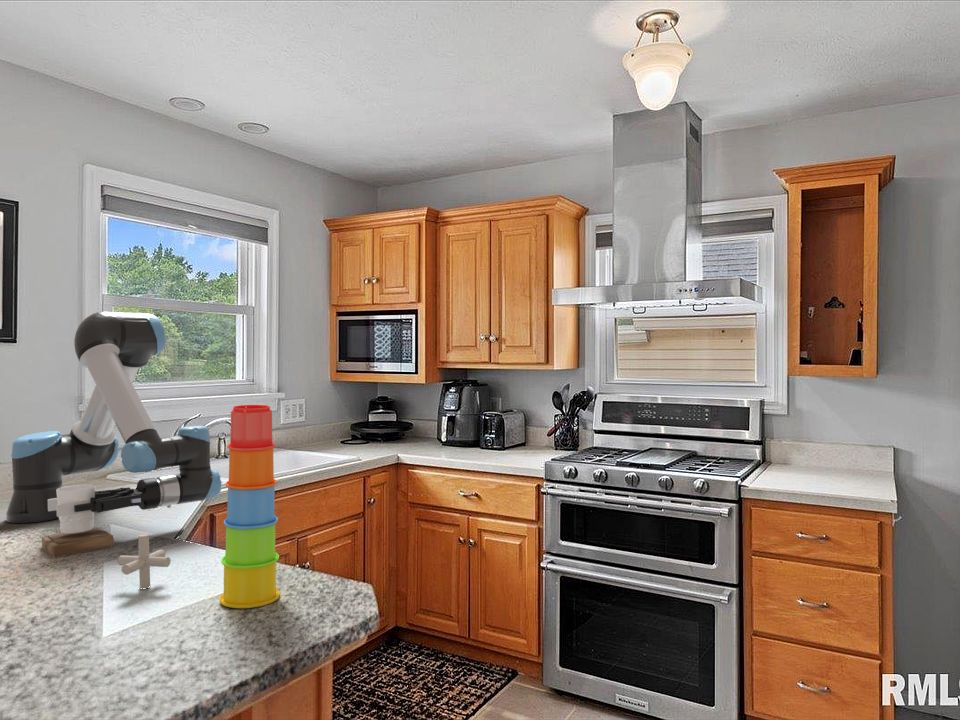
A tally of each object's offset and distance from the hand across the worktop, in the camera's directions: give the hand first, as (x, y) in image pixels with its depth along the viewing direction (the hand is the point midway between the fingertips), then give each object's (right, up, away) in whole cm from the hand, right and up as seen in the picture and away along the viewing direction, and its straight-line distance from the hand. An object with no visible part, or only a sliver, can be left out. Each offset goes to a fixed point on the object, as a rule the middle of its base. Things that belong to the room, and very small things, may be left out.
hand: (52, 507), depth 160 cm
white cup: (+4, -6, +3) cm, 8 cm away
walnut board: (+4, -10, +3) cm, 11 cm away
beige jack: (+34, -10, -27) cm, 45 cm away
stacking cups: (+57, -9, -35) cm, 67 cm away
